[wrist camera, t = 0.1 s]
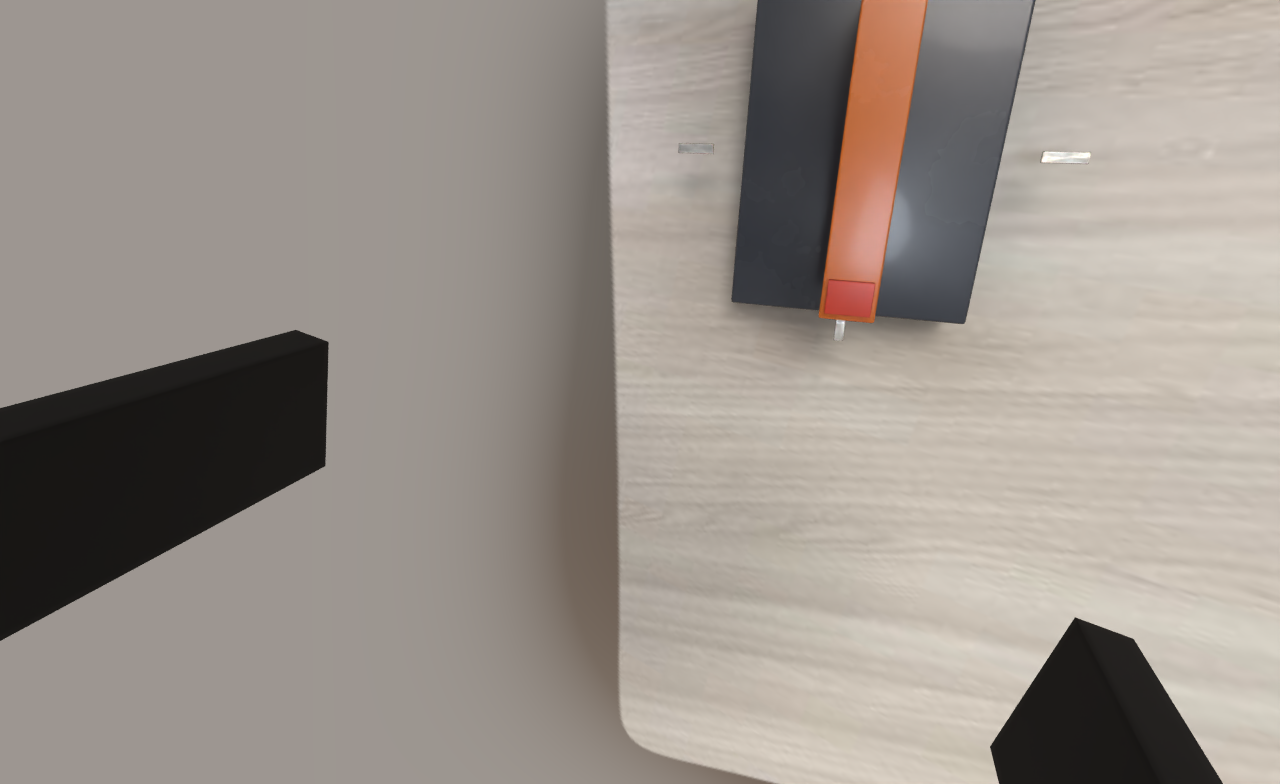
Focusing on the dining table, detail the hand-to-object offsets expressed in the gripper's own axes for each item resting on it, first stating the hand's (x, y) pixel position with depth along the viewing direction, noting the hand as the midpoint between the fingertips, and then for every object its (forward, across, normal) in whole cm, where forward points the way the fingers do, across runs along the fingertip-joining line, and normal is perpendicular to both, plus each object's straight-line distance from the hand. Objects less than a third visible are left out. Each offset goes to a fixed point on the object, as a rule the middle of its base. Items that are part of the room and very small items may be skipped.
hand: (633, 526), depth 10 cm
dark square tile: (+20, +2, +7) cm, 22 cm away
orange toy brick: (+17, +2, +7) cm, 18 cm away
